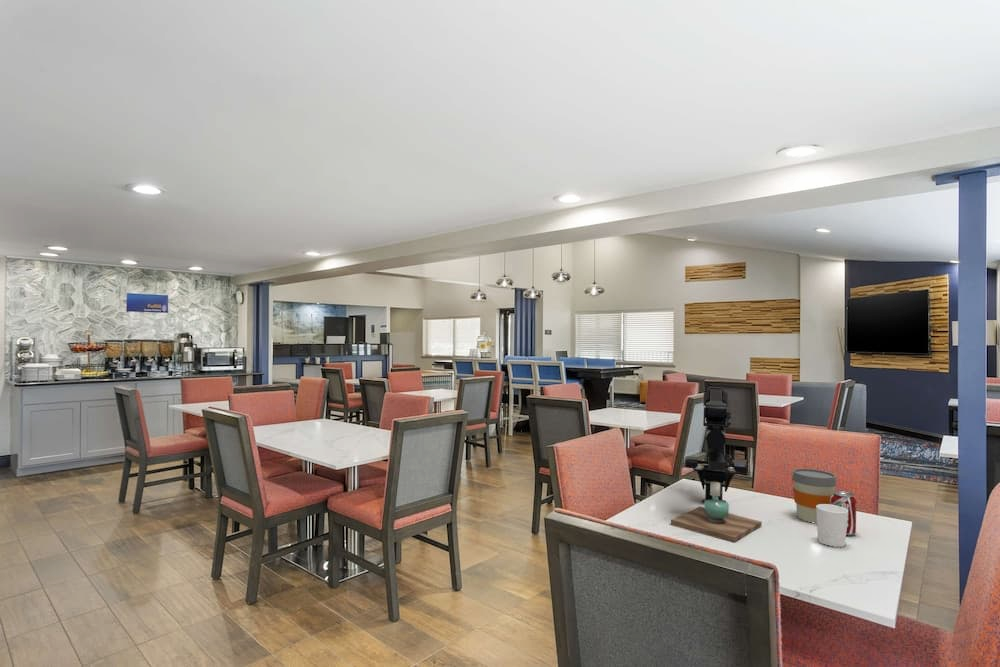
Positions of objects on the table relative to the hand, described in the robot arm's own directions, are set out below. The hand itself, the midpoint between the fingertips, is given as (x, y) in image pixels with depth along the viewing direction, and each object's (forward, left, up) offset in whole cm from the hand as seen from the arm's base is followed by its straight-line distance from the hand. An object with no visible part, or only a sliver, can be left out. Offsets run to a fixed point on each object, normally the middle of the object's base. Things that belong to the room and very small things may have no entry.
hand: (714, 490), depth 181 cm
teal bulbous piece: (+5, +3, -5) cm, 7 cm away
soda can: (-15, +33, -9) cm, 38 cm away
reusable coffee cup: (-22, +23, -9) cm, 33 cm away
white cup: (-3, +33, -9) cm, 34 cm away
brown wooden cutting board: (+8, +4, -8) cm, 12 cm away
